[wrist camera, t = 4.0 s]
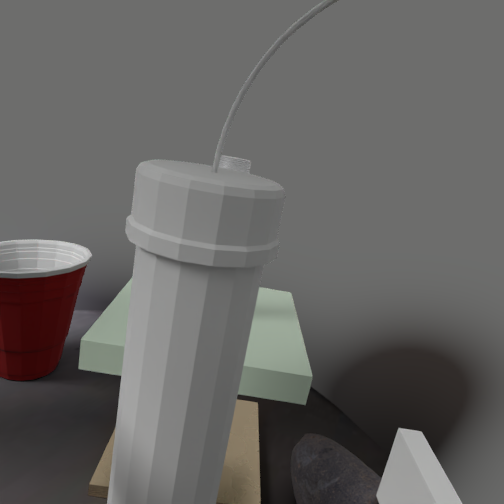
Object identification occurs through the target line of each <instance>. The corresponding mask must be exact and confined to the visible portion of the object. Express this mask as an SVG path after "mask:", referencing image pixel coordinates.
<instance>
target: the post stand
mask: <svg viewBox="0 0 504 504" xmlns="http://www.w3.org/2000/svg"><path fill="white" fill-rule="evenodd" d="M250 165H251V161H249V160H245V159H240V158H235V157H229V156H222V155H221V158H220V162H219V167H220V168H226V169H231V170H235V171H240V172H244V173H249V171H250ZM115 429H116V427H115ZM115 429H114V431H113V434H112V436H111V438H110V440H109V442H108V444H107V447H106V449H105V451H104V453H103V455H102V457H101V460H100V462H99V464H98V466H97V468H96V470H95V473H94V475H93V477H92V479H91V481H90V483H89V492H88V496H95V497H102V498H108V491H109V482H110V474H111V465H112V456H113V447H114V438H115ZM216 504H261V497H260V461H259V425H258V403H257V402H251V401H244V400H238V399H237V400H236V405H235V410H234V415H233V420H232V425H231V430H230V435H229V440H228V445H227V450H226V455H225V460H224V465H223V470H222V475H221V480H220V485H219V490H218V495H217V500H216Z"/></svg>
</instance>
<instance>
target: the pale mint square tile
mask: <svg viewBox="0 0 504 504" xmlns="http://www.w3.org/2000/svg"><path fill="white" fill-rule="evenodd" d="M131 286H132V278H131V280H130V281H129V282H128V283H127V284H126V286H125V287H124V288H123V289H122V290H121V292H120V293H119V294H118V295H117V296H116V298H115V299H114V300H113V301H112V303H111V304H110V305H109V306H108V307H107V309H106V310H105V311H104V312H103V313H102V315H101V316H100V317H99V318H98V319H97V321H96V322H95V323H94V324H93V325H92V327H91V328H90V329H89V330H88V331H87V333H86V334H85V335H84V336H83V337H82V339H81V344H80V356H79V369H81V370H87V371H94V372H100V373H106V374H113V375H119V376H121V375H122V366H123V357H124V349H125V340H126V331H127V322H128V313H129V304H130V295H131ZM312 378H313V376H312V372H311V368H310V364H309V360H308V356H307V353H306V349H305V345H304V341H303V337H302V333H301V329H300V325H299V321H298V318H297V314H296V310H295V306H294V302H293V298H292V294H291V292H285V291H279V290H273V289H267V288H261V287H259V291H258V296H257V301H256V306H255V311H254V316H253V321H252V326H251V331H250V336H249V341H248V346H247V351H246V356H245V360H244V365H243V370H242V375H241V380H240V385H239V390H238V394H240V395H246V396H252V397H259V398H265V399H271V400H278V401H284V402H290V403H297V404H303V405H306V402H307V398H308V394H309V390H310V386H311V382H312Z"/></svg>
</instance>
